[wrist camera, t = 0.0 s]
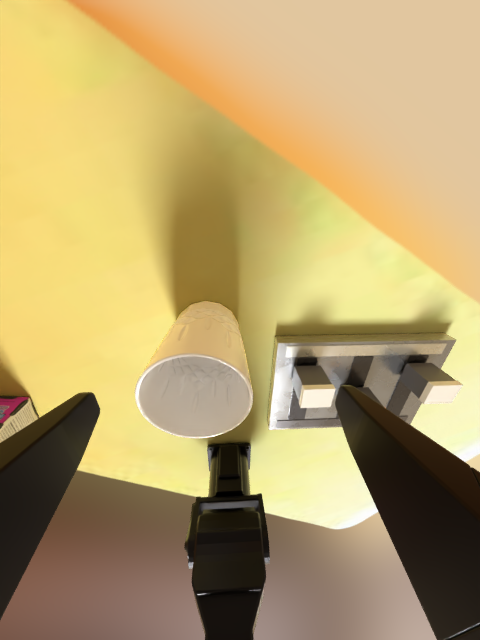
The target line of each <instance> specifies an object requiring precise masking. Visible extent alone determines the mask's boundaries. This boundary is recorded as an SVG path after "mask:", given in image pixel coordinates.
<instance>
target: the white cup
mask: <svg viewBox="0 0 480 640" xmlns="http://www.w3.org/2000/svg"><path fill="white" fill-rule="evenodd" d="M135 400H136V404H137V406H138V408H139V410H140V412H141V413H142V415H143V416H144V417H145V418H146V419H147V420H148V421H149V422H150V423H151V424H152V425H154V426H155V427H157V428H158V429H160V430H162V431H164V432H167V433H169V434H172V435H176V436H180V437H186V438H208V437H213V436H217V435H221V434H223V433H226V432H228V431H230V430H232V429H234V428H235V427H237V426H238V425H239V424H240V423H242V422H243V421H244V419H245V418H246V417H247V416H248V414H249V412H250V410H251V408H252V404H253V390H252V385H251V380H250V375H249V370H248V364H247V359H246V354H245V349H244V346H243V340H242V337H241V334H240V330H239V324H238V321H237V320H236V318H235V316H234V315H233V313H232V311H230V310H229V309H227V308H226V307H224V306H223V305H221V304H220V303H215V302H209V301H202V302H198V303H194V304H191V305H190V306H188V307H187V308H186V309H185V310H184V311H183V312H181V313H180V315H179V316H178V318H177V320H176V321H175V323H174V324H173V325H172V326H171V328H170V329H169V331H168V333H167V334H166V335H165V337H164V338H163V340H162V342H161V343H160V345H159V346H158V348H157V350H156V351H155V353H154V355H153V356H152V358H151V360H150V361H149V363H148V365H147V366H146V368H145V369H144V371H143V373H142V374H141V376H140V377H139V379H138V381H137V384H136V388H135Z"/></svg>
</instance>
